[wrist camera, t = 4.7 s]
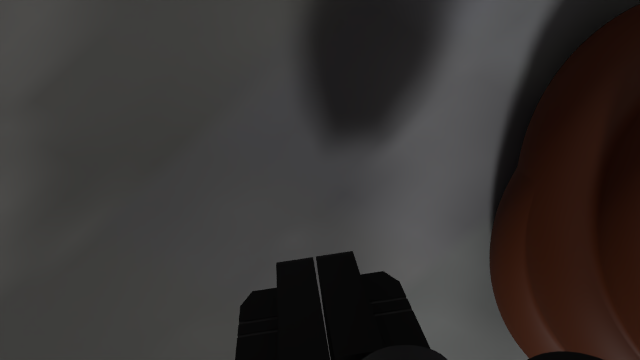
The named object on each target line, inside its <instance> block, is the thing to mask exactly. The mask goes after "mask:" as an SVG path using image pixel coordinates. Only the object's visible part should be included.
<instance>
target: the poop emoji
mask: <svg viewBox="0 0 640 360" xmlns="http://www.w3.org/2000/svg"><path fill="white" fill-rule="evenodd" d="M490 275H491V282H492V287H493V292H494V296H495V299H496V303H497V306H498V309H499V311H500V314H501V316H502V318H503V320H504V322H505V324H506V326H507V328H508V330H509V332H510V333H511V335H512V337H513V338H514V340H515V341H516V343H517V344H518V345H519V347H520V348H521V349H522V350H523V352H524V353H525V354H526V355H527V356H528V357H529V359H530V358H532V357H534V356H536V355H539V354H543V353H548V352H556V351H569V352H578V353H583V354H588V355H591V356H595V357H598V358H601V359H603V360H640V4H639V5H637V6H635V7H633V8H631V9H629V10H627V11H625V12H624V13H622V14H620V15H619V16H617V17H615V18H614V19H612V20H611V21H610V22H608V23H607V24H605V25H604V26H603V27H601V28H600V29H599V30H597V31H596V32H595V33H594V34H593V35H591V36H590V37H589V38H588V39H587V40H586V41H585V42H584V43H583V44H582V45H580V46H579V47H578V49H577V50H576V51H575V52H574V53H573V54H572V55H571V56H570V57H569V58H568V59H567V61H566V62H565V63H564V64H563V65H562V67H561V68H560V69H559V71H558V72H557V73H556V75H555V76H554V78H553V79H552V81H551V82H550V84H549V85H548V87H547V88H546V90H545V92H544V94H543V95H542V97H541V99H540V101H539V103H538V105H537V107H536V109H535V111H534V113H533V116H532V118H531V120H530V123H529V126H528V128H527V131H526V134H525V137H524V141H523V144H522V148H521V152H520V156H519V161H518V166H517V168H516V170H515V172H514V173H513V175H512V177H511V179H510V181H509V183H508V185H507V187H506V189H505V191H504V193H503V196H502V198H501V201H500V203H499V206H498V209H497V212H496V216H495V220H494V224H493V229H492V234H491V242H490Z"/></svg>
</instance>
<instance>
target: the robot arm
mask: <svg viewBox="0 0 640 360" xmlns="http://www.w3.org/2000/svg"><path fill="white" fill-rule="evenodd" d="M316 260H317V268H318V275H319V282H320V289H321V296H322V303H323V310H324V317H325V324H326V331H327V338H328V345H329V351H330V357H331V360H447V359H446V358H445V357H444V356H443V355H442V354H440V353H438V352H436V351H434V350H432V349H430V347H429V345H428V342H427V340H426V338H425V336H424V334H423V332H422V329H421V327H420V325H419V323H418V321H417V319H416V316H415V314H414V312H413V311H412V309H411V306H410V303H409V301H408V299H406V295H405V293H404V290H403V288H402V286H401V284H400V282H399V281H398V280H396V279H395V278H393V277H391V276H390V275H388V274H387V273H385V272H384V271H382V272H375V273H369V274H362V275H360V272H359V269H358V266H357V263H356V260H355V257H354V254H353V251H350V252H343V253H337V254H330V255H323V256H317V257H316ZM276 270H277V288H271V289H265V290H258V291H252V293H251V294H250V295H249V296H248V298H247V299H246V300H245V301H244V302H243V304H242V305H241V306H240V315H239V325H238V338H237V346H236V356H235V360H330V357H329V351H328V345H327V339H326V333H325V327H324V321H323V315H322V309H321V303H320V297H319V291H318V285H317V279H316V273H315V267H314V261H313V257H311V258H304V259H298V260H291V261H284V262H278V263H276ZM528 360H603V359H601V358H598V357H595V356H591V355H588V354H583V353H578V352H569V351H556V352H548V353H543V354H539V355H536V356H534V357H532V358H530V359H528Z"/></svg>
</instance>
